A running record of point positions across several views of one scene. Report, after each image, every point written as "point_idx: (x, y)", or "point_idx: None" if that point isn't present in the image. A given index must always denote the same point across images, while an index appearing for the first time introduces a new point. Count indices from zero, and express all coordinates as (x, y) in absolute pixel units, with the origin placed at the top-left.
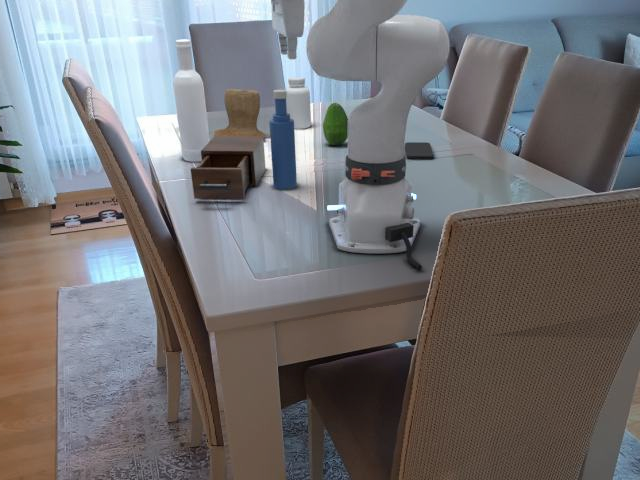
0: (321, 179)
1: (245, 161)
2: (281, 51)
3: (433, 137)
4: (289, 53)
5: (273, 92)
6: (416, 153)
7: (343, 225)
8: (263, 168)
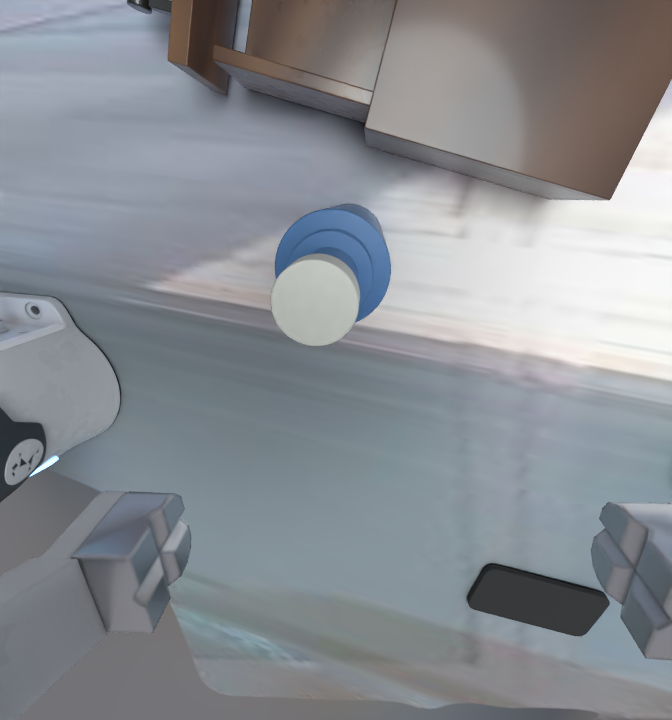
0: (386, 346)
1: (313, 91)
2: (631, 521)
3: (650, 660)
4: (72, 539)
5: (310, 258)
6: (502, 588)
7: (3, 320)
8: (516, 188)
